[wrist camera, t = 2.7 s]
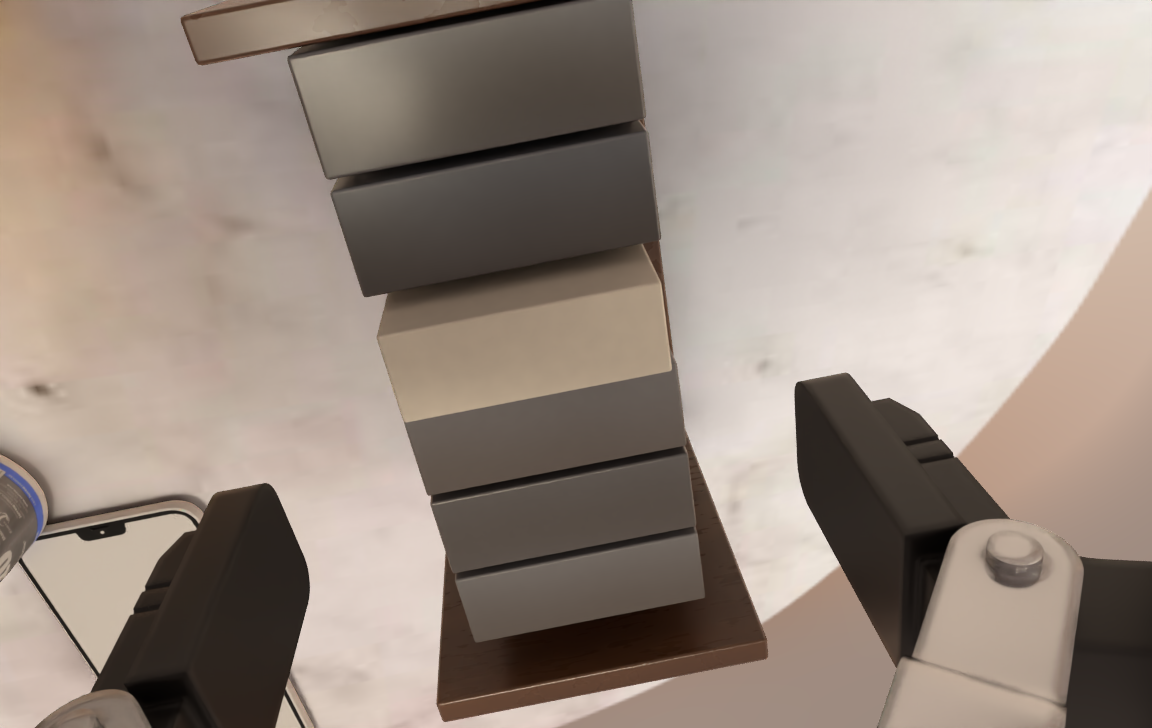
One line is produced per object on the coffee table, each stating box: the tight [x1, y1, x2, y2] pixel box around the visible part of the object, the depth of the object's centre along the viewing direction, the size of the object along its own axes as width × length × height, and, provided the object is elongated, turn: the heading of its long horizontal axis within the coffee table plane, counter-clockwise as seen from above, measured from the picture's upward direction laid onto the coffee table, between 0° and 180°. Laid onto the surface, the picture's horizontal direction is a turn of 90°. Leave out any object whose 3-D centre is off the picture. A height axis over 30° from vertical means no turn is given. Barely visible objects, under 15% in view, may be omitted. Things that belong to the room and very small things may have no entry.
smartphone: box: [18, 500, 314, 728], centre depth 36 cm, size 7×1×15 cm
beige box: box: [377, 244, 672, 422], centre depth 21 cm, size 2×6×12 cm, turn 100°
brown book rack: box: [181, 0, 768, 722], centre depth 23 cm, size 18×9×12 cm, turn 10°
